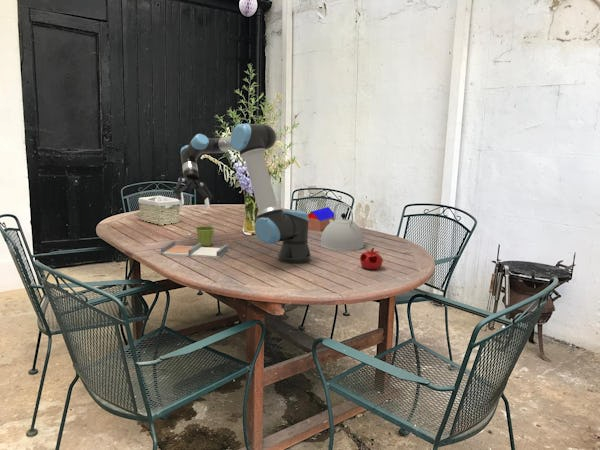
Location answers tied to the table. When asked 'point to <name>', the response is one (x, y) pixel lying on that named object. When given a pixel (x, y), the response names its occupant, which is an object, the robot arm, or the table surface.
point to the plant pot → (205, 235)
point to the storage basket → (159, 209)
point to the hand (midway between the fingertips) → (195, 207)
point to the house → (320, 219)
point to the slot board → (193, 250)
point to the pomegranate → (371, 260)
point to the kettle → (342, 234)
